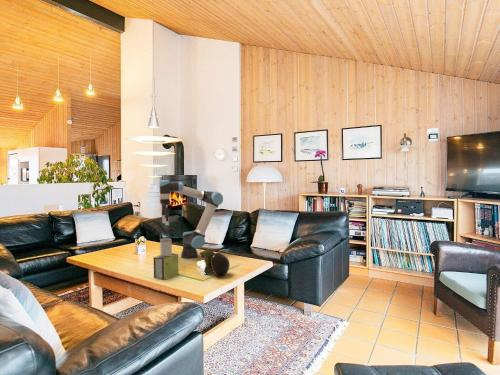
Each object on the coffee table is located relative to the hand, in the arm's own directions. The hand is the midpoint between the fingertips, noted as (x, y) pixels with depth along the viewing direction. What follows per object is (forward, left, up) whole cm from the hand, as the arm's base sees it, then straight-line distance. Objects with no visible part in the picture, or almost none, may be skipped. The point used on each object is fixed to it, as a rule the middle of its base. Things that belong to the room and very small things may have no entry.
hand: (165, 224), depth 259 cm
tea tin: (+4, +30, -19) cm, 36 cm away
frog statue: (-30, +41, -35) cm, 61 cm away
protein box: (+4, +30, -35) cm, 46 cm away
